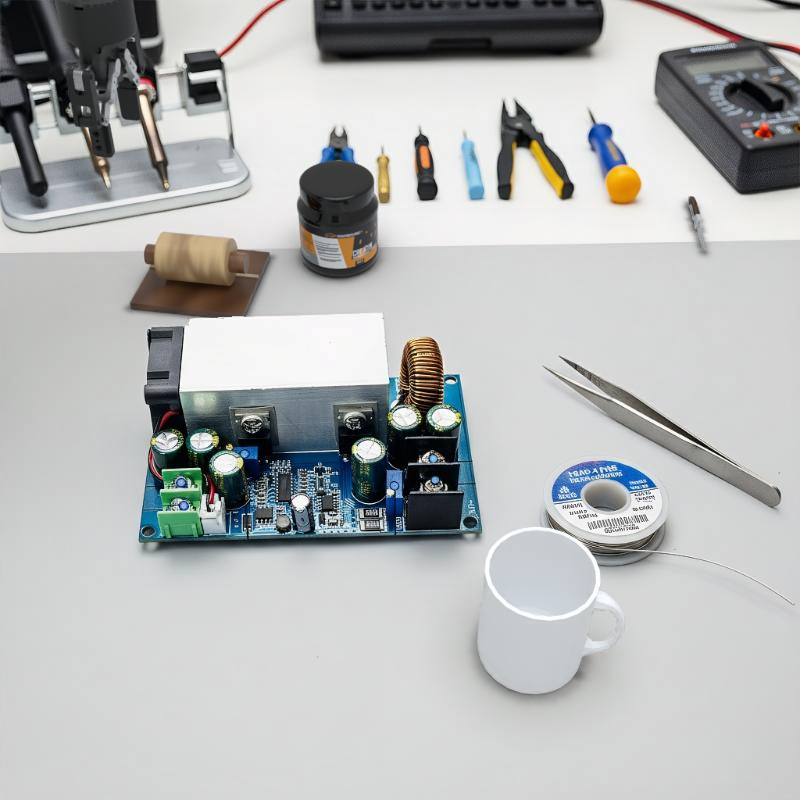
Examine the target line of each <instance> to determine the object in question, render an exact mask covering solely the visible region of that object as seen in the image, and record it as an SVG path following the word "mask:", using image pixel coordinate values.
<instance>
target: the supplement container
mask: <svg viewBox="0 0 800 800" xmlns="http://www.w3.org/2000/svg"><path fill="white" fill-rule="evenodd" d="M298 186H299V187H298V188H299V196H298V198H297V201H296V211H297V215H298V216H297V217H298V228H299V229H298V230H299V242H300V249H299V251H300V257H301V259H302V261H303V262H304V264H305V265H306V266H307V267H308V268H309V269H310V270H312V271H314V272H316V273H318V274H320V275H324V276H328V277H339V278H340V277H348V276H354V275H357V274H360V273H362V272H364V271H366V270H368V269H369V268H370V267H371V266H372V265H373V264H374V263H375V262H376V261H377V258H378V255H379V250H380V249H379V228H378V227H379V225H378V224H379V220H378V219H379V216H378V214H379V213H378V211H379V198H378V196H377V194H376V193H375V177H374V175H373V172H372V171H370V170H369V169H368V168H367V167H365V166H363V165H362V164H359V163H356V162H352V161H347V160H328V161H323V162H319V163H316V164H313V165H312V166H309V167H308V168H307V169H305V170H304V171H303V172H302V173H301V175H300V176H299V180H298Z"/></svg>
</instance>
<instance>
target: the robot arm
mask: <svg viewBox="0 0 800 800" xmlns="http://www.w3.org/2000/svg"><path fill="white" fill-rule="evenodd" d="M54 4H55V9H56V13H57V19H58V23H59V28H60V33H61V35H62V37H63V38H64V39H65V41H67V42H68V43H71V44H72V45H74V46H75V47H76V48H77V49H78V58H79V59H78V67H77V68H67V69H66V70H65V79H66V85H67V91H68V97H69V101H70V108H71V112H72V117H73V118H72V119H73V123H74V126H75V127H77V128H86V129H87V128H88V129H87V130H88V135H89V139H90V144H91V149H92V153H93V155H94V156H95V157H97V158H107V159H111V158H113V157H114V155H115V154H116V148H115V142H114V137H113V131H112V127H111V122H110V117H111V116H110V115H111V106H112V105H114V104H115V103H116V98H117V99H118V104H119V111H120V115H121V117H122V119H123V120H125V121H135V122H138V121H140V120H141V119H142V117H143V110H142V104H141V99H140V91H139V87H140V85H141V77H140V75H144V74H145V71H146V67H145V62H144V56H143V51H142V46H141V45H142V44H141V38H140V34H139V28H138V24H137V17H136V12H135V3H134V0H54ZM132 56H133V58H134V60H133V58H132ZM98 91H104V93H98ZM100 104H101V105H100Z"/></svg>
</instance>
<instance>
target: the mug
mask: <svg viewBox="0 0 800 800" xmlns="http://www.w3.org/2000/svg"><path fill="white" fill-rule="evenodd" d="M600 586H601V570H600V568H599V565H598V563H597V560H596V557H595V556H594V555H593V553H591V551H590V549H589V548H588V547H587V546H585V544H583V543H582V542H581V541H580V540H579V539H577V538H576V537H573V536H572V535H570V534H568V533H567V532H564V531H562V530H558V529H554V528H551V527H542V526H532V527H523V528H518V529H516V530H513V531H509V532H508V533H507V534H505V535H504V536H502V537H500V538H498V540H497V541H496V542H495V543H494V544H493V545H492V547H491V548H490V549H489V551H488V553H487V556H486V559H485V564H484V573H483V584H482V592H481V601H480V611H479V618H478V619H479V620H478V629H477V641H476V642H477V650H478V655H479V659H480V663H482V666H483V667H484V669H485V671H486V672H487V673H488V674H489V675H490V676H491V677H492V678H493V679H494V680H495V681H496V682H497V683H499V684H501V685H502V686H504V687H505V688H507V689H509V690H512V691H515V692H518V693H521V694H529V695H540V694H548V693H549V694H550V693H551V692H554V691H557V690H558V689H561V688H563V687H564V686H565V685H567V683H569V682H570V681H571V680H572V679H573V678H574V676H575V675H576V673H577V672H578V670H579V667H580V665H581V662H582V660H583V657H585V656H588V655H591V654H602V653H604V652H608V651H610V650H612V649H613V648H614V647H615V646H616V645H617V644H618V643H619V642H620V640H621V638H622V637H623V635H624V632H625V627H626V619H625V615H624V612H623V610H622V607H621V606H620V605H619V604H618V602H616V600H614V598H612V597H611V596H610V595H609V594H607V593H606V592H605V591H602V590H600ZM595 611H598V612H609V613H611V614H612V616H613V617H614V618H615V628H614V632H613V633H612V634H611V636H610V637H608V638H606V639H605V640H601V641H596V640H592V639H591V637H589V633H590V628H591V623H592V620H593V617H594V616H593V615H594V612H595Z"/></svg>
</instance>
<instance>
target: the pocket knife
mask: <svg viewBox="0 0 800 800" xmlns="http://www.w3.org/2000/svg"><path fill="white" fill-rule="evenodd" d="M687 206H688V208H689V210H690V213H691V220H692V221H693V224H694V225H693V226H694V230H696V231H697V235H698V238H699V242H700V245H701V248H702V250H704V251H706V243H705V238H704V232H703V226H702V225H703V224H702V223H703V219H702V215H701V212H700V207H699V205H698V201H697V199H696V197H695V196H692V195H688V197H687Z"/></svg>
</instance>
